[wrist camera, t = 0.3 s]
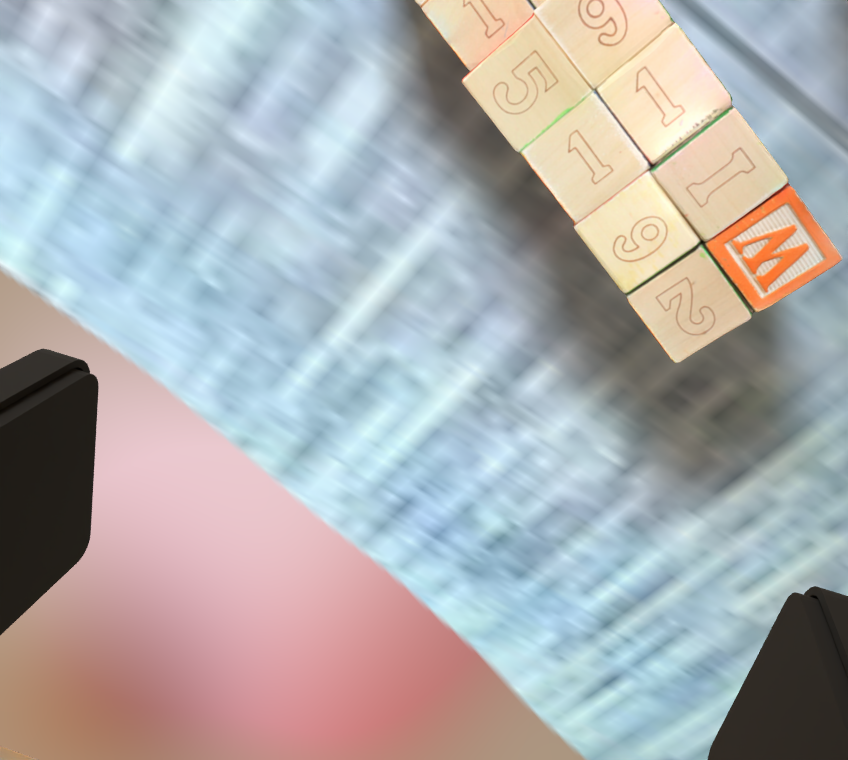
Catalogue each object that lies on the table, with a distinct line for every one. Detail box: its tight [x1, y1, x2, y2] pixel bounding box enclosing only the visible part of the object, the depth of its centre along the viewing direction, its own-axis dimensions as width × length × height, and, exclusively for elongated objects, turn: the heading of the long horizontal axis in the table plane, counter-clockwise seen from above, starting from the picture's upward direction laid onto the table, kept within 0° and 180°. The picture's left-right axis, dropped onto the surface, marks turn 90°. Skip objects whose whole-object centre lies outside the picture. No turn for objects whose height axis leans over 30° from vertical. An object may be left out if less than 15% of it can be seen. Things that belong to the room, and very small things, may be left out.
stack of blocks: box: [415, 0, 843, 363], centre depth 30 cm, size 21×6×12 cm, turn 40°
